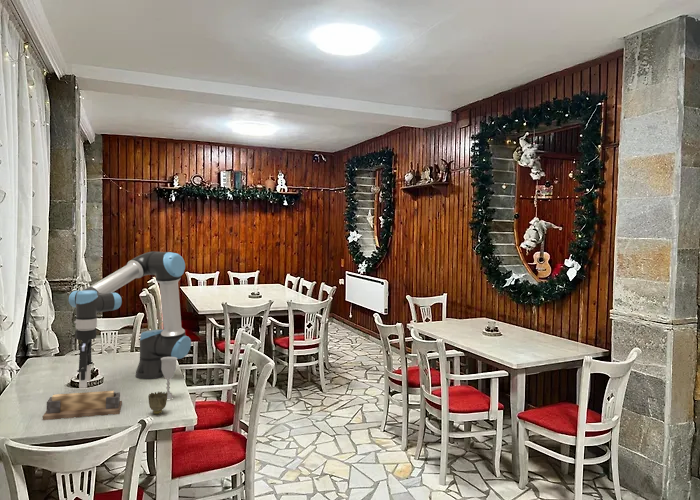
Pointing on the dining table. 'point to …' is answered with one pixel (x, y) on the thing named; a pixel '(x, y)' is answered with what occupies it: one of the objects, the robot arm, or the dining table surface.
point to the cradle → (54, 410)
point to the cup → (157, 401)
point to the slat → (82, 400)
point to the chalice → (168, 371)
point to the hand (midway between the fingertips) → (84, 384)
